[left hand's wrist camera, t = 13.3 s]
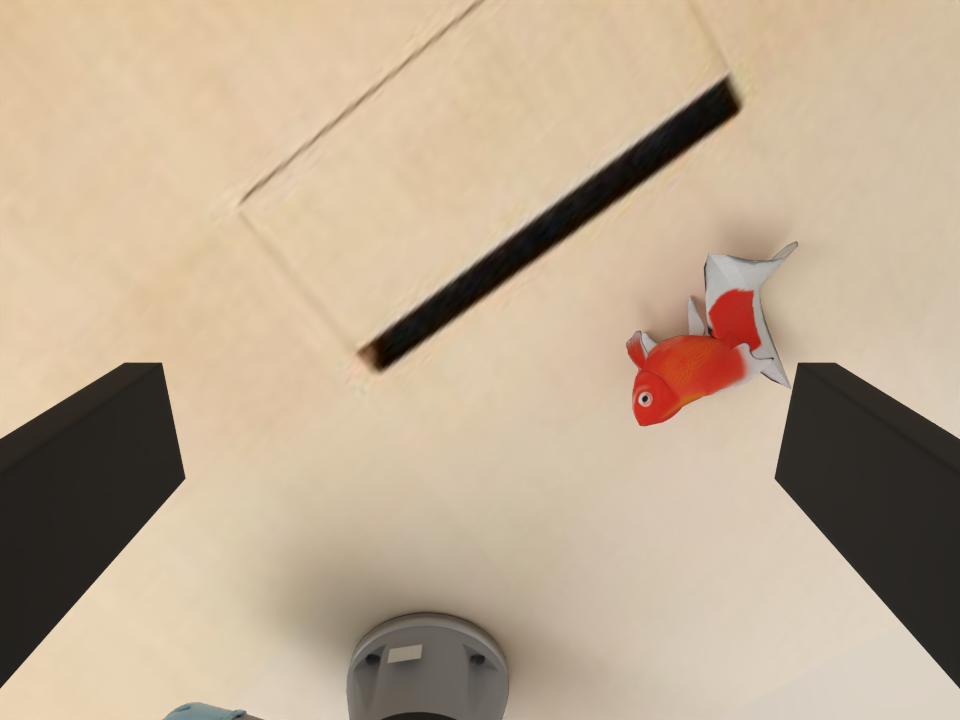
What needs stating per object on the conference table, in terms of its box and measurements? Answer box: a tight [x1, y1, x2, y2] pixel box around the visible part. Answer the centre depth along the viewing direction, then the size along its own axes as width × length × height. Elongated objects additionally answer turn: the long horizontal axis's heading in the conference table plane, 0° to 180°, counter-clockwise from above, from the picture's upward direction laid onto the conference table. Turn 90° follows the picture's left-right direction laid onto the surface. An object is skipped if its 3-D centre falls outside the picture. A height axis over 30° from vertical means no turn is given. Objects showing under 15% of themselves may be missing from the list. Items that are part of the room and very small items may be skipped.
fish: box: [626, 241, 798, 426], centre depth 40 cm, size 11×16×10 cm
